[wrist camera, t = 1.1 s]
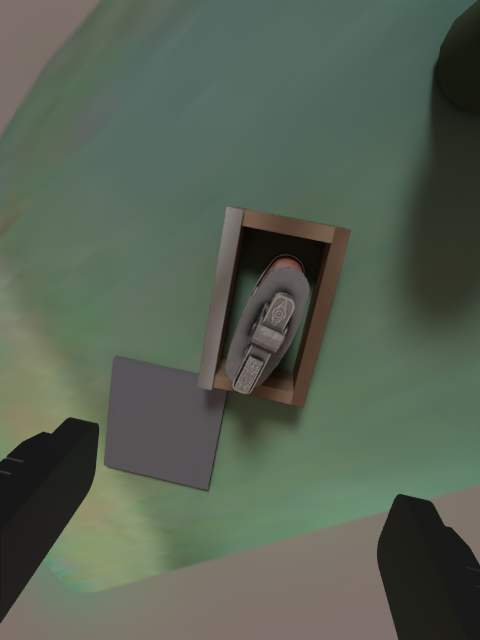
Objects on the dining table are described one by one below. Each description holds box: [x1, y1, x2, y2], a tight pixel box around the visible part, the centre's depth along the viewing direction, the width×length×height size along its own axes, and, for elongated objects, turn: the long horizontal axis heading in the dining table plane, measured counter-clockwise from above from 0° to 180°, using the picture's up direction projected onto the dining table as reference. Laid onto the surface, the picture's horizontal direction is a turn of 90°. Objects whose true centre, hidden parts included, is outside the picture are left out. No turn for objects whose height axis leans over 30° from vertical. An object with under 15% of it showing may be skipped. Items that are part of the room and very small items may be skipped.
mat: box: [104, 356, 227, 490], centre depth 34 cm, size 10×11×1 cm
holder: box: [197, 207, 351, 407], centre depth 28 cm, size 8×13×4 cm, turn 169°
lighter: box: [226, 253, 310, 394], centre depth 25 cm, size 8×3×10 cm, turn 156°
